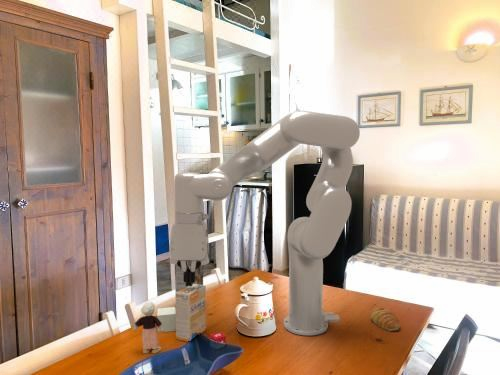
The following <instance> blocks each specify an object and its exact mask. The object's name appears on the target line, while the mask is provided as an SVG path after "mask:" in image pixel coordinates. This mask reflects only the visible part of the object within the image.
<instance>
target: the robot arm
mask: <svg viewBox="0 0 500 375" xmlns="http://www.w3.org/2000/svg"><path fill="white" fill-rule="evenodd" d="M360 131H361V130H360V127H359V124H358V123H357V122H356V121H355V119H353V118H351V117H349V116H344V115H339V114H330V113H323V112H315V111H309V110H308V111H307V110H297V111H294V112H291V113H289V114H287V115H285V116H283V117H282V118H281V119H280V120H278V121H276V122H275V123H274V124H272V125H271V126H269V128H267V129H266V130H264V131H263V132H262V133H260V134H259V135H258V136H256V137H255V138H254V139H252V140H251V141H249V142H248V143H247V144H245V145H244V146H243V147H242V148H240V149H239V150H238V151H236V153H234V154H232V155H231V156H230V157H229V158H227V159H226V160H224V161H223V162H222V163H220V164H219V165H218V166H217V167H215V168H213V169H212V170H211V171H210V172H208V173H200V172H191V171H190V172H178V173H177V174H175V175H174V222H173V223H172V225H171V232H170V238H169V240H170V241H169V263H170V264H172V265H174V266H175V265H178V266H179V267H180V268H181V269H182V271H183V274H184V282H186V286H192V285H193V282H195V270H196V269H197V268H198V267H199V266H200V265H203V266H204V265H205V266H206V265H208V264H209V263H210V259H209V254H210V246H209V245H210V244H209V241H210V240H209V232H208V226H207V222H205V220H209V218H210V216H209V213H207V214H206V213H205V211H204V200H210V201H223V200H226V199H228V197H230V195H231V194H232V191H233V187H235V186H236V185H238V184H239V183H240V182H241V181H244V179H246V178H247V177H250V176H252V175H253V174H256V173H259V172H261V171H263V170H265V169H267V168H269V167H271V166H272V165H273V164H275V163H276V162H278V160H280V159H281V158H283V156H285V155H287V154H288V153H289V152H290V151H292V150H294V149H295V148H296V147H298V146H300V145H308V146H313V147H320V149H321V151H322V161H321V165H320V168H319V170H318V173H317V174H316V177H315V179H314V181H313V183H312V185H311V187H310V188H309V191H308V193H307V195H306V199H305V200H306V201H305V203H306V207H307V208H308V211H310V215H309V216H302V217H298V218H296V219H294V220H292V222H291V223H290V225H289V226H288V230H287V249H288V260H289V262H288V266H289V267H288V269H289V271H288V285H289V286H288V289H289V290H288V315H287V316H286V317H284V319H283V327H284V328H285V330H287V331H289V332H290V333H292V334H295V335H299V336H317V335H320V334H324V332H326V331H327V330H328V325H329V324H328V323H329V322H331V323H340V315H339V314H334V312H331V311H330V312H328V311H327V312H325V311H324V309H323V296H324V295H323V289H324V287H323V286H324V285H323V284H324V283H323V282H324V280H323V279H324V263H323V262H324V261H323V259H325V258H326V257H328V256H330V254H331V253H332V251H333V250H334V249H335V247H336V244H337V242H338V241H339V238H340V237H341V234H342V232H343V230H344V228H345V226H346V223H347V221H348V219H349V217H350V214H351V211H352V197H351V196H350V193H349V192H348V191H347V190H346V187H347V183H348V181H349V179H350V177H351V174H352V171H353V167H354V161H353V160H354V158H353V152H352V149H351V148H352V147H354V146H355V145H356V144H357V142H358V141H359V139H360V135H361V134H360V133H361V132H360ZM188 261H192V264H191V269H189V267H188Z"/></svg>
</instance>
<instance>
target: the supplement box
mask: <svg viewBox="0 0 500 375" xmlns="http://www.w3.org/2000/svg"><path fill="white" fill-rule="evenodd" d="M206 292H207V290H206V285H204V284H203V285H198V284H193V285H192V286H187V287H185V288H183V289H181V290H180V291H178V292H176V291H175V293H174V294H175V313H176V331H175V336H176V337H175V339H176V340H178V341H182V342H187V343H189V342H188V340H189V338H190V336H191V334H192V333H195V332H198V333H201V334H202V333H204V332H205V331H206V329H207V318H206V316H207V315H206V314H207V312H206V310H207V309H206V308H207V307H206V303H207V302H206V301H207V299H206V297H207V296H206Z"/></svg>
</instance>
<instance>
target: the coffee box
mask: <svg viewBox="0 0 500 375" xmlns="http://www.w3.org/2000/svg"><path fill="white" fill-rule="evenodd" d="M191 264H192V261H188V267H189V269H191ZM174 283H175V285H174V287H175V293H176V292H178V291H180V290H181V289H183V288H185V287H187V286H186V282H184V274H183V271H182V269H181V268H180V267H179V266H178V265H175V264H174ZM193 284H198V285H204V265H200V266H199V267H198V268H197V269H196V270H195V282H193Z"/></svg>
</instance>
